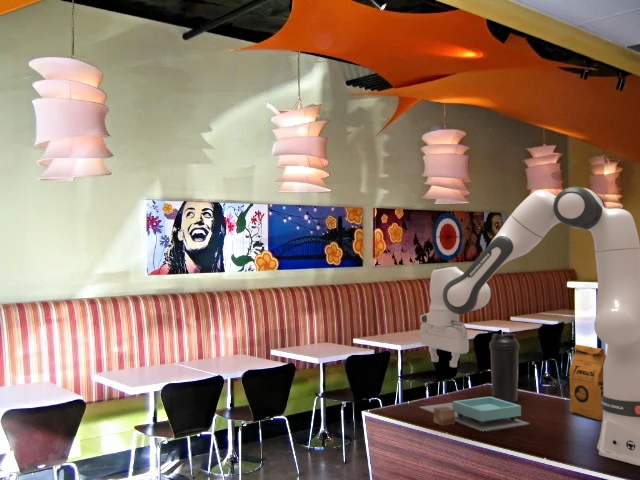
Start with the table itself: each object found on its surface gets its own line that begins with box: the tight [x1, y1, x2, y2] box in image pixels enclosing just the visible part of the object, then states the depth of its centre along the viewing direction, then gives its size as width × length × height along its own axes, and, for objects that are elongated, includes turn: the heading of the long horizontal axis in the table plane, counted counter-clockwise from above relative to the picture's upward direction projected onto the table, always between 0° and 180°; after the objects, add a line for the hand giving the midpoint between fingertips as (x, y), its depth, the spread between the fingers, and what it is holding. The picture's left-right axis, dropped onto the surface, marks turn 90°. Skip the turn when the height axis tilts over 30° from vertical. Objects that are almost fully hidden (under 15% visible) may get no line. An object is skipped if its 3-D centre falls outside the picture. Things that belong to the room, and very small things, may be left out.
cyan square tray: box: [452, 396, 522, 425], centre depth 204 cm, size 14×15×5 cm
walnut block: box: [433, 406, 456, 427], centre depth 202 cm, size 4×4×4 cm
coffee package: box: [569, 344, 606, 421], centre depth 210 cm, size 10×12×22 cm
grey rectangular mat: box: [419, 402, 530, 433], centre depth 211 cm, size 32×18×1 cm, turn 26°
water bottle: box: [488, 332, 521, 403], centre depth 233 cm, size 10×10×23 cm
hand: (443, 364), depth 202 cm, fingers open, 8 cm apart
